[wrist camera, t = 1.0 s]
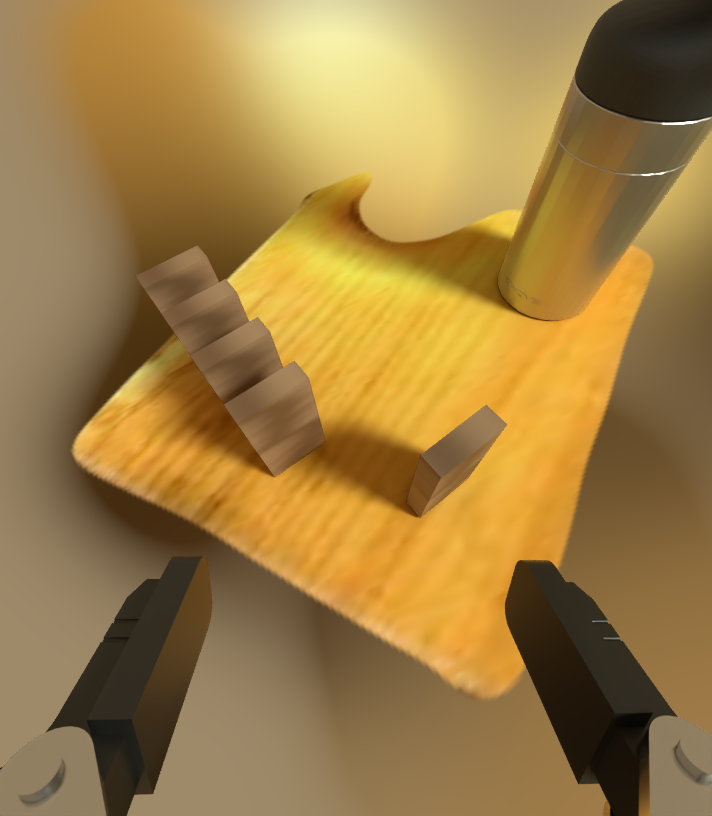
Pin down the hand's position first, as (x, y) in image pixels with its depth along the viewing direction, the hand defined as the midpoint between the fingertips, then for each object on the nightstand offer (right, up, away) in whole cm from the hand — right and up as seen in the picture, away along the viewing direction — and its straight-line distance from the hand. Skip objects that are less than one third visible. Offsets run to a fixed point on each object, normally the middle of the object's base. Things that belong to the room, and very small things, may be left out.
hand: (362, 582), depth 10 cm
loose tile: (+6, -2, +20) cm, 21 cm away
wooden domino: (-11, +7, +25) cm, 29 cm away
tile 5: (-13, +10, +27) cm, 32 cm away
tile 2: (-5, +1, +22) cm, 23 cm away
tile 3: (-8, +4, +24) cm, 25 cm away
